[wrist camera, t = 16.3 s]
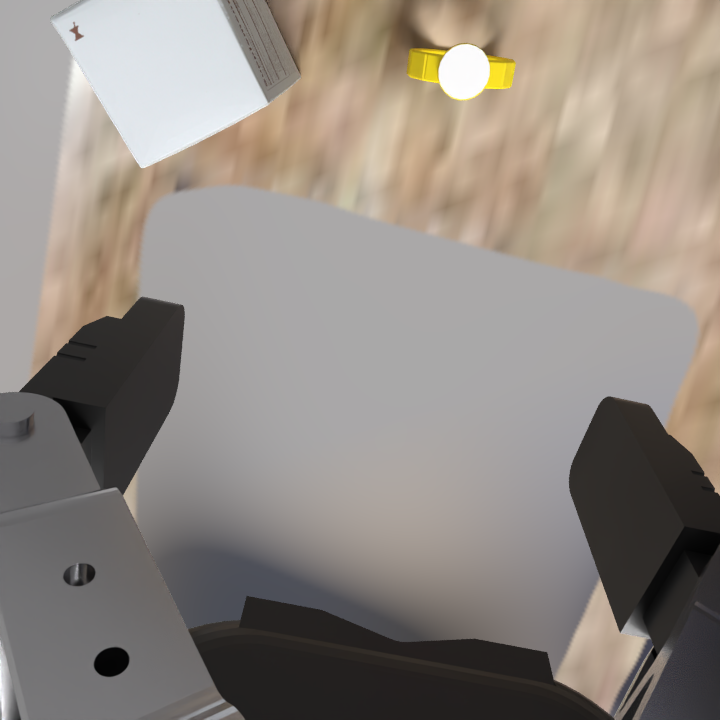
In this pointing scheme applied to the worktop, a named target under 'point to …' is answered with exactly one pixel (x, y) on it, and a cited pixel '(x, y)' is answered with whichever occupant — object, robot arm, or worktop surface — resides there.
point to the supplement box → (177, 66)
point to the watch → (461, 70)
